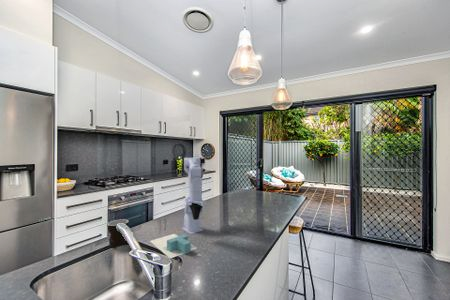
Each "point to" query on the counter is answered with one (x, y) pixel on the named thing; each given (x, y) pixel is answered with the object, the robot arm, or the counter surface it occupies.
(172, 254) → the mat
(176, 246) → the tee block
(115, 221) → the coffee mug
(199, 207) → the robot arm
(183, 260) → the counter surface
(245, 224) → the counter surface
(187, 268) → the counter surface
